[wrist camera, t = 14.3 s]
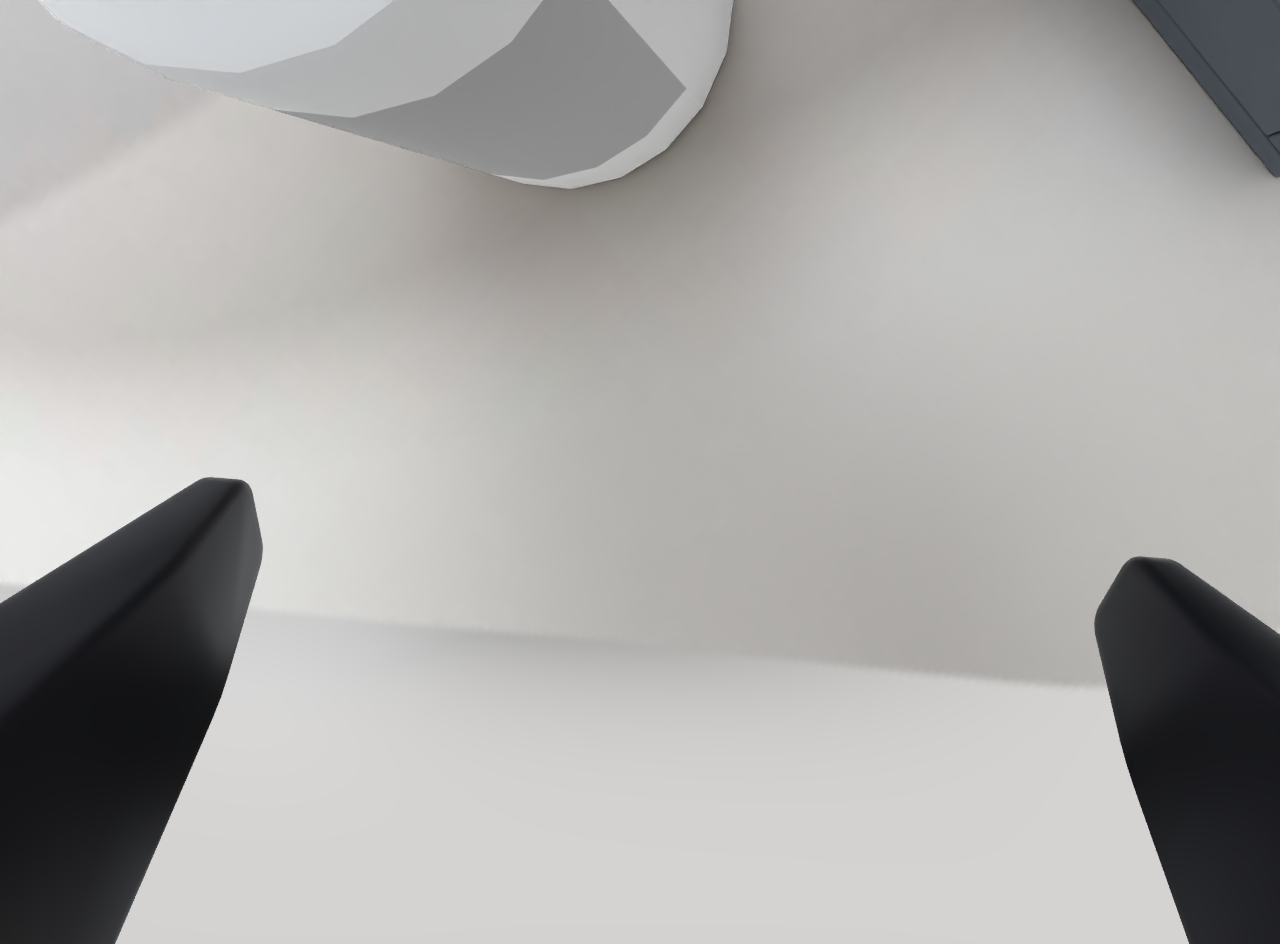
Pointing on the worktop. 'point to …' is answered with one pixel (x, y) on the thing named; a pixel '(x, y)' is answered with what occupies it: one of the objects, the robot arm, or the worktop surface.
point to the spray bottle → (444, 71)
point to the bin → (1230, 60)
